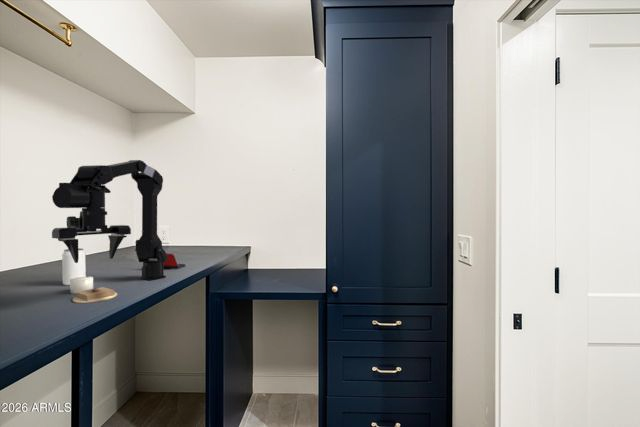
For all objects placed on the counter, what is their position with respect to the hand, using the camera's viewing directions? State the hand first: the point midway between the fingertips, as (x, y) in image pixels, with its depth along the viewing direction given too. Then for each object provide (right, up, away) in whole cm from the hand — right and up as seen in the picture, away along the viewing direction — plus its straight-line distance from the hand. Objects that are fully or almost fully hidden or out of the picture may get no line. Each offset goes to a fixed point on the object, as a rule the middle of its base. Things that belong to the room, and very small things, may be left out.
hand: (94, 260), depth 98 cm
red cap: (0, -10, +46) cm, 48 cm away
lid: (0, -11, 0) cm, 11 cm away
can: (-19, -11, +18) cm, 29 cm away
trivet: (0, -11, 0) cm, 11 cm away
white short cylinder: (-9, -11, +8) cm, 16 cm away
